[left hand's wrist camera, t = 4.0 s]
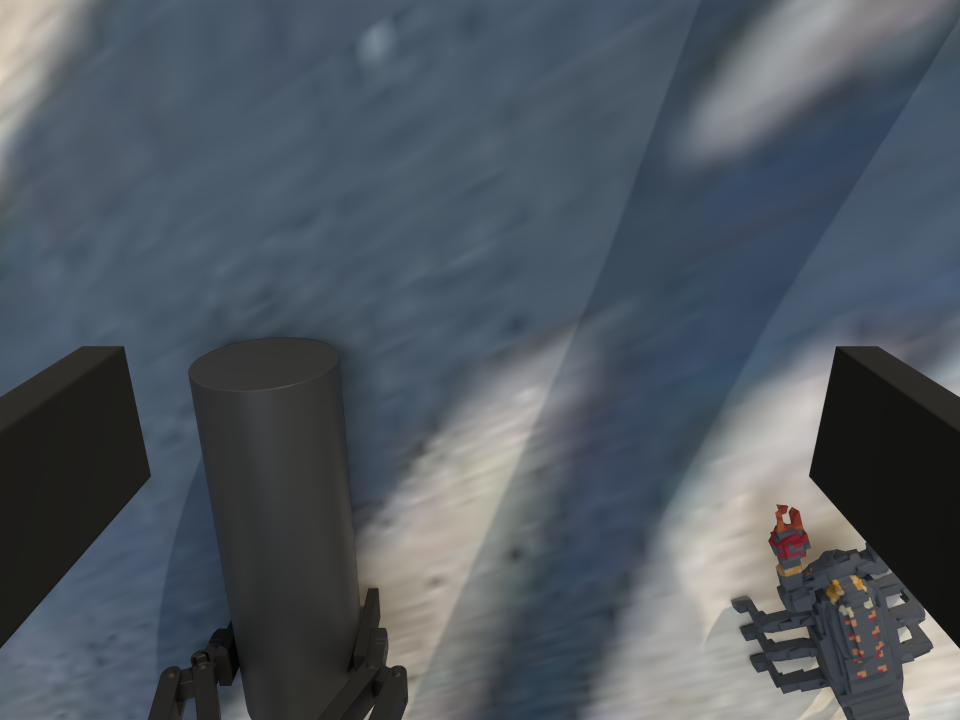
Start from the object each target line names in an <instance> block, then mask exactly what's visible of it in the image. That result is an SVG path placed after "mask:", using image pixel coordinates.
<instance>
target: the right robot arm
mask: <svg viewBox="0 0 960 720" xmlns="http://www.w3.org/2000/svg"><path fill="white" fill-rule="evenodd" d="M379 621H380V605H379V591H378V588H368V593H367V597H366V601H365V606H364V610H363V615H362V619H361V623H360V628H359V632H358V637H357V641H356V645H355V650H354V654H353V658H354V669H355V673H354V675H353V676H352V677H351V678H350V680H349V681H348V682H347V683H346V685H345V686H344V687H343V688H342V689H341V691H340V692H339V693H338V694H337V696H336V697H335V698H334V699H333V701H332V702H331V703H330V704H329V706H328V707H327V708H326V709H325V711H324V712H323V713H322V714H321V715H320V717H319V718H318V719H317V720H363V719H364V718H365V717H366V715H367V714H368V712H369V711H370V710H371V708H372V707H373V706H374V708H373V710H372V712H371V715H370V717H369V720H401V719H402V716H403V713H404V711H405V708H406V705H407V702H408V686H407V671H406V669H405V668H404V667H403V666H394V667H392V668H389V667H387V666H386V660H387V654H388V635H387V631H386V628H378V626H379ZM191 664H192V667H191V668H188V669H184V670H181V669H180V668H179V667H177V666H172V667H169V668H167V669H165V670H164V671H163V672H162V674H161V677H160V680H159V684H158V687H157V690H156V694H155V697H154V701H153V704H152V707H151V711H150V714H149V717H148V720H182V717H183V713H184V709H185V704H186V700H187V699H190V698H194V697H195V700H196V711H197V720H221V714H220V706H219V699H218V691H217V683H218V681H219V683H220V686H231V685H232V682H233V680H234V678H235V675H236V673H237V671H238V668H239V660H238V654H237V649H236V643H235V637H234V631H233V626H232V620H231V621H230V623H229V626H228V628H227V629H218V630H217V631H215V632H214V633H213V635H212V637H211V639H210V641H209V643H208V645H207V647H206V649H205V650H199V651H197V652H195V653H194V654H193V655H192V657H191ZM374 704H375V705H374Z"/></svg>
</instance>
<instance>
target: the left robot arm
mask: <svg viewBox="0 0 960 720" xmlns="http://www.w3.org/2000/svg"><path fill="white" fill-rule="evenodd" d="M150 477H151V474H150V469H149V464H148V460H147V455H146V450H145V445H144V440H143V436H142V431H141V426H140V421H139V417H138V412H137V407H136V402H135V397H134V393H133V388H132V383H131V378H130V374H129V369H128V364H127V359H126V354H125V350H124V346H82V347H80V348H79V349H77V350H76V351H74V352H72V353H71V354H69V355H68V356H66V357H64V358H63V359H61V360H60V361H58V362H56V363H55V364H53V365H52V366H50V367H48V368H47V369H45V370H43V371H42V372H40V373H39V374H37V375H35V376H34V377H32V378H31V379H29V380H27V381H26V382H24V383H23V384H21V385H19V386H18V387H16V388H14V389H13V390H11V391H10V392H8V393H6V394H5V395H3V396H2V397H0V648H1V647H2V646H3V645H4V644H5V643H6V642H7V640H8V639H9V638H10V637H11V636H12V635H13V634H14V632H15V631H16V630H17V629H18V628H19V627H20V626H21V624H22V623H23V622H24V621H25V620H26V619H27V617H28V616H29V615H30V614H31V613H32V612H33V611H34V609H35V608H36V607H37V606H38V605H39V604H40V603H41V601H42V600H43V599H44V598H45V597H46V596H47V595H48V593H49V592H50V591H51V590H52V589H53V588H54V587H55V585H56V584H57V583H58V582H59V581H60V580H61V579H62V577H63V576H64V575H65V574H66V573H67V572H68V571H69V569H70V568H71V567H72V566H73V565H74V564H75V563H76V561H77V560H78V559H79V558H80V557H81V556H82V555H83V553H84V552H85V551H86V550H87V549H88V548H89V546H90V545H91V544H92V543H93V542H94V541H95V540H96V538H97V537H98V536H99V535H100V534H101V533H102V532H103V530H104V529H105V528H106V527H107V526H108V525H109V524H110V522H111V521H112V520H113V519H114V518H115V517H116V516H117V514H118V513H119V512H120V511H121V510H122V509H123V508H124V506H125V505H126V504H127V503H128V502H129V501H130V500H131V498H132V497H133V496H134V495H135V494H136V493H137V492H138V490H139V489H140V488H141V487H142V486H143V485H144V484H145V482H146V481H147V480H148V479H149V478H150ZM809 477H810V478H811V479H812V480H813V481H814V482H815V484H816V485H817V486H818V487H819V488H820V489H821V490H822V492H823V493H824V494H825V495H826V496H827V497H828V498H829V500H830V501H831V502H832V503H833V504H834V505H835V506H836V508H837V509H838V510H839V511H840V512H841V513H842V514H843V516H844V517H845V518H846V519H847V520H848V521H849V522H850V524H851V525H852V526H853V527H854V528H855V529H856V530H857V532H858V533H859V534H860V535H861V536H862V537H863V538H864V540H865V541H866V542H867V543H868V544H869V545H870V546H871V548H872V549H873V550H874V551H875V552H876V553H877V555H878V556H879V557H880V558H881V559H882V560H883V561H884V563H885V564H886V565H887V566H888V567H889V568H890V569H891V571H892V572H893V573H894V574H895V575H896V576H897V577H898V579H899V580H900V581H901V582H902V583H903V584H904V585H905V587H906V588H907V589H908V590H909V591H910V592H911V593H912V595H913V596H914V597H915V598H916V599H917V600H918V601H919V603H920V604H921V605H922V606H923V607H924V608H925V609H926V611H927V612H928V613H929V614H930V615H931V616H932V618H933V619H934V620H935V621H936V622H937V623H938V624H939V626H940V627H941V628H942V629H943V630H944V631H945V632H946V634H947V635H948V636H949V637H950V638H951V639H952V640H953V642H954V643H955V644H956V645H957V646H958V647H959V648H960V397H958V396H957V395H955V394H954V393H952V392H950V391H949V390H947V389H945V388H944V387H942V386H941V385H939V384H937V383H936V382H934V381H933V380H931V379H929V378H928V377H926V376H925V375H923V374H921V373H920V372H918V371H917V370H915V369H913V368H912V367H910V366H908V365H907V364H905V363H904V362H902V361H900V360H899V359H897V358H896V357H894V356H892V355H891V354H889V353H888V352H886V351H884V350H883V349H881V348H880V347H878V346H836V350H835V354H834V359H833V364H832V369H831V374H830V378H829V383H828V388H827V393H826V397H825V402H824V407H823V412H822V417H821V421H820V426H819V431H818V436H817V440H816V445H815V450H814V455H813V460H812V464H811V469H810V474H809Z"/></svg>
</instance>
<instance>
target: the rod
mask: <svg viewBox="0 0 960 720" xmlns="http://www.w3.org/2000/svg"><path fill="white" fill-rule="evenodd" d="M188 374H189V380H190V386H191V391H192V397H193V403H194V409H195V414H196V420H197V426H198V431H199V437H200V443H201V449H202V454H203V460H204V466H205V471H206V477H207V483H208V489H209V494H210V500H211V506H212V511H213V517H214V523H215V529H216V534H217V540H218V546H219V551H220V557H221V563H222V569H223V574H224V580H225V586H226V591H227V597H228V603H229V609H230V614H231V620H232V626H233V631H234V637H235V643H236V649H237V654H238V660H239V666H240V671H241V677H242V683H243V688H244V694H245V700H246V706H247V711H248V713H249V716H250V718H251V719H252V720H317V719H318V718H319V717H320V715H321V714H322V713H323V712H324V711H325V709H326V708H327V707H328V706H329V704H330V703H331V702H332V701H333V699H334V698H335V697H336V696H337V694H338V693H339V692H340V691H341V689H342V688H343V687H344V686H345V685H346V683H347V682H348V681H349V680H350V678H351V677H352V676H353V675H354V673H355V669H354V658H353V654H354V650H355V645H356V641H357V637H358V632H359V628H360V623H361V611H360V599H359V587H358V575H357V563H356V552H355V540H354V528H353V516H352V504H351V492H350V480H349V468H348V456H347V444H346V433H345V421H344V409H343V397H342V385H341V373H340V361H339V354H338V352H337V351H336V350H335V349H334V348H333V347H332V346H330V345H328V344H325V343H323V342H319V341H315V340H310V339H302V338H267V339H258V340H251V341H245V342H240V343H236V344H232V345H228V346H225V347H222V348H219V349H216V350H214V351H211V352H209V353H207V354H205V355H203V356H202V357H200V358H198V359H197V360H196V361H195V362H194V363H193V364H192V365H191V366H190V368H189V372H188Z"/></svg>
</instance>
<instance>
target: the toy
mask: <svg viewBox="0 0 960 720" xmlns="http://www.w3.org/2000/svg"><path fill="white" fill-rule="evenodd" d="M777 507H778V509H779V510H778V511H777V512H776V518H777V525H776V526H775V528H774V531H773V532H770V533H771V537H770V539H769V540H768V541H769V543H770V545H771V547H772V550H773V552H774V554H775V555H776V556H777V558H778V561H779V564H778V565H777V566H776V570H777V573H778V577H779V581H780V584H781V585H779V586H778V587H777V590H778V593H779V596H780V599H781V600H782V602H783V604H784V606H785V608H786V609H787V610H784V611H780V612H775V613H771V614H767V615H766V614H765V613H764V612H763V611H759V612H758V610H757V608H756V607H755V605H754V604H753V602H752V600H751V599H750V598H748V597H743V598H739V599H736V600H733V601H731V602H732V605H733V607H734V608H735V609H736V611H737V612H739V613H744V612H749V614H750V616H751V617H752V619H753V621H754V623H755V624H753V625H750V626H746V627H743V628H740V629H741V632H742V635H743V636H744V638H745V639H746V641H749V640H754V639H758V641H759V643H760V645H761V647H762V649H763V651H764V653H763V654H759V655H756V656H753V657H750V659H751V662H752V665H753V667H754V668H755V669H756V671H757V672H758V673H759V672H763V671H767V670H768V671H769V673H770V676H771V678H772V680H773V681H774V683H775V685H776V687H777V688H778V687H780V688H781V690H782V692H783V694H785V693H789V692H792V691H796V690H800V689H801V691H802V692H804V691H809V690H814V689H819V688H824V687H829V686H830V687H831V688H832V690H833V692H834V694H835V696H836V698H837V700H838V703H839V704H840V706H841V707H842V709H843V711H844V714H845V716H846V718H847V720H909V716H910V714H909V711H908V708H907V705H906V702H905V700H904V697H903V693H902V689H903V680H904V678H903V670H902V664H903V663H907V662H911V661H914V658H917V657H919V656H922V655H924V654H926V653H928V652H930V650H931V649H932V648H933V645H932V642H931V641H930V640H929V638H928V637H927V636H926V635H925V633H924V632H923V631H922V629H921V628H920V627H919V626H918V624H919V623H921V622H922V621H924V620H926V619H925V610H924V607H923V606H922V605H921V604H920V603H919V601H918V600H917V599H916V598H915V597H914V596H913V595H912V593H911V592H910V591H909V590H908V589H907V588H906V587H905V585H904V584H903V583H902V582H901V581H900V580H899V579H898V577H897V576H896V575H895V574H894V573H893V572H892V573H890V574H888V575H886V576H884V577H882V578H880V579H877V580H874V579H873V578H872V577H871V576H870V574H875V575H879V574H882V573H884V572H887V570H888V568H889V567H888V566H887V565H886V564H885V563H884V561H883V560H882V559H881V558H880V557H879V556H878V555H877V553H876V552H875V551H874V550H873V549H872V548H871V546H870V545H869V544H868V543H867V542H866V543H865V544H866V550H863V551H861V552H858V551H857V549H854V550H850V551H846V552H845V551H841V550H837V549H835V550H832V551H825V552H824V553H822V555H821V556H820V558H819V559H818V560H816V561H814V562H812V563H810V564H809V565H808V567H807V568H806V569H805V570H803V571H802V568H801V562H800V558H802V557H805V556H806V549H809V548H811V547H810V543H809V539H808V536H807V533H806V532H805V531H804V529H803V526H802V521H801V517H800V513H799V511H798V510H796V509H795V508H793V507H792V508H791V509H790V511H789V516H790V520H791V524H785V523H783V519H782V514H785V513H786V512H787V508H788V506H786V505H777ZM900 592H901V594H902V595H901V596H900V598H901V599H902V600H903V601H904V602H905V603H904V604H901V605H898V606H895V607H892V608H889V609H888V607H887V603H886V599H885V597H887V596H891V595H895V594H899V593H900ZM804 626H807V629H808V632H809V636H810V638H809V639H808V638H797V639H792V640H787V641H782V642H777V643H775V642H774V641H773V640H772V639H768V640H767V638H766V636H765V634H764V632H766V633H774V632H779V631H785V630H789V629H794V628H799V627H804ZM904 626H906V627H907V628H908V629H909V631H910V633H911V636H912V639H909V640H906V641H903V642H901V643H900V641H899V636H898V632H897V629H898V628H901V627H904ZM808 656H811V657H814V656H816V658H817V662H818V665H819V667H818V668H815V669H812V670H809V671H806V672H804V671H803V669H801V670H798V671H794V672H791V673H788V674H784V675H783V674H782V672H781V673H778V671H777V670H776V668H775V666H774V664H773V663H772V661H785V660H792V659H797V658H802V657H808Z"/></svg>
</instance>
